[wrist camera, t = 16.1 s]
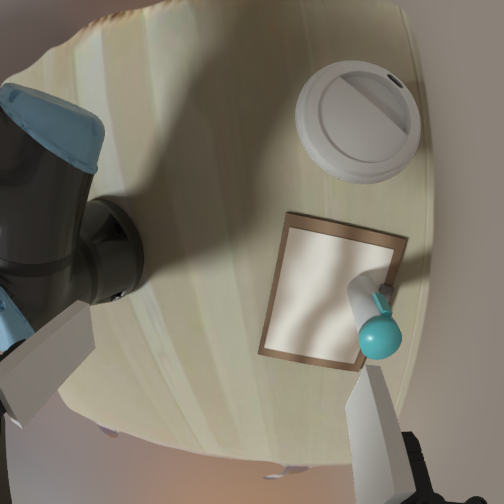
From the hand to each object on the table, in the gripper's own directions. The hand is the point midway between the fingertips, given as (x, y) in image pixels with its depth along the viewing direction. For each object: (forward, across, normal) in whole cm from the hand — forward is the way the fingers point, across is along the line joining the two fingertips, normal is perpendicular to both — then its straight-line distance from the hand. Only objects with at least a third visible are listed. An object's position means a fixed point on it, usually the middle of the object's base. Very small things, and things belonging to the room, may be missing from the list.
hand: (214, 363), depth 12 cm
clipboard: (+24, +10, -7) cm, 27 cm away
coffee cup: (+25, +7, +13) cm, 29 cm away
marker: (+23, +13, -4) cm, 27 cm away
